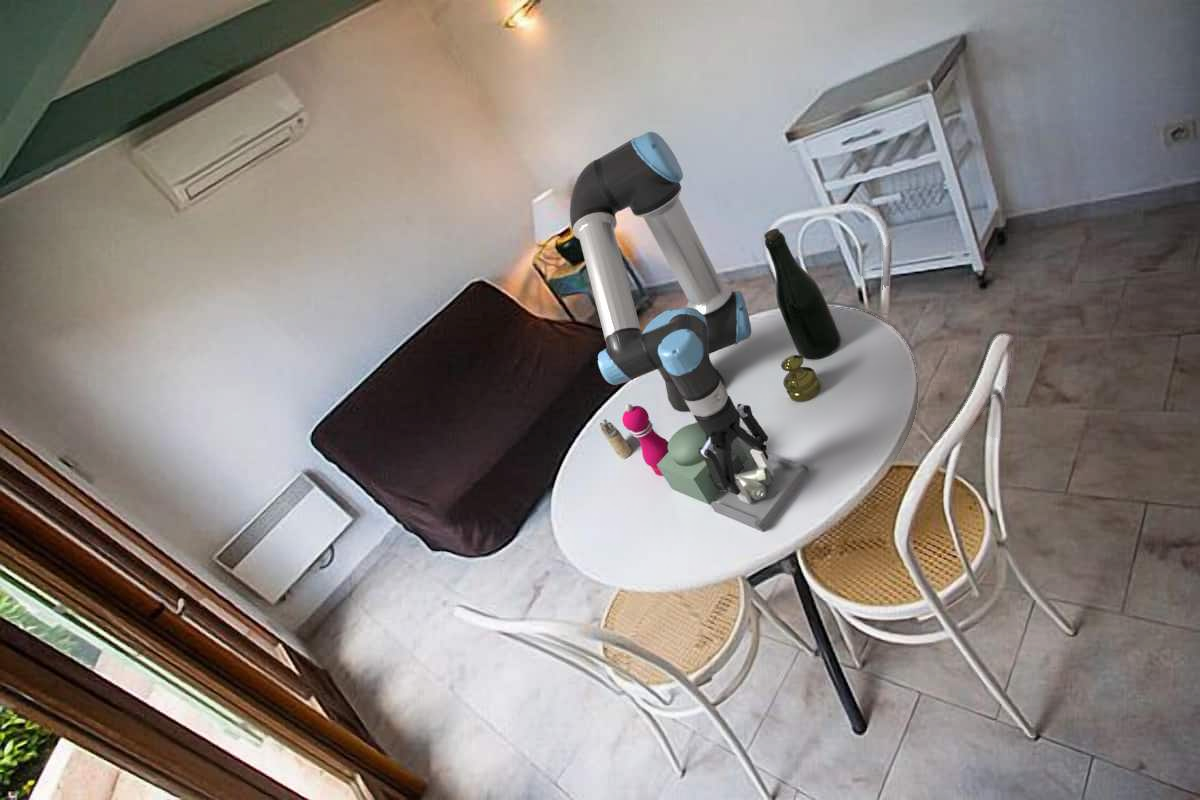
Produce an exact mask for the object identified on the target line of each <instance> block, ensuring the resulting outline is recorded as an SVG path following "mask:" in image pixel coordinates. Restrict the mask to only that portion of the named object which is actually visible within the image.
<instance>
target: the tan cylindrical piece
mask: <svg viewBox="0 0 1200 800" xmlns="http://www.w3.org/2000/svg"><path fill="white" fill-rule="evenodd" d="M599 426H600V430H601V432H602V434H603V435H604V437H605V439H606V440H607V441H608V443H609V444H610V446H611V447H612V449H613V450H614V451H615V453H616V454H617V455H618V456H619V457H620V459H626V457H627V458H628V457H630V456H631V455H632V453H633V449H632V448H631V445H629V444H628V442H627V441H626V440H625V438H624V437H623V434H621V432H620V431H619V429H618V428H617V427H616V426H615V425H614V424H613V423H612V422H610V421H608V420H607V419H606V418H604V419H603V423H602V422H600V423H599ZM631 452H632V453H631ZM630 454H631V455H630ZM629 455H630V456H629Z"/></svg>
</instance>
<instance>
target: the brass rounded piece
mask: <svg viewBox="0 0 1200 800" xmlns="http://www.w3.org/2000/svg"><path fill="white" fill-rule="evenodd" d="M803 363H804V358H803V357H802V356H800V355H799V354H794V355H790V356H788V357H786V358H785V359H784V360H783V361H782V362H781V364H780V365H781V366H780V367H781V369H782V370H783V371H785V372H788V373H787V374H786V375H785V376H784V378H783V380H782V381H783V387H784V388H785V390H786V393H787V394H788V396H789V398H790V400H792V401H794V402H796V403H799V402H800V403H801V402H802V403H803V402H807V401H809V400H810V401H811V399H814V398H815V397H816V396H817V395H819V393H820V391H821V389H822V385H821V383H820V380H819V378H818V376H817V373H816V371H815V370H814V369H813V368H812V367H808V366H802V365H803Z"/></svg>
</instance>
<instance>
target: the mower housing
mask: <svg viewBox="0 0 1200 800" xmlns="http://www.w3.org/2000/svg"><path fill="white" fill-rule="evenodd" d="M668 442H669V443H668V451H669V452H668V453H667V454H666V455H665V456H664V457H663V459H662V460H661V461H660V462H659V463H658V464H657V467H658V468H659V470H660V471H661V473H662V474H663V477H664V479H665V481H666V482H667V483H668V486H669V487H670V488H671V490H673V491H675V492H678V493H680V494H683V495H685V496H687V497H689V498H692V499H695V500H697V501H699V502H702V503H705V504H707V505H710V504H711V503H712V502H713V501H714V500H715V499H716V497H717V496H718V495H719V494H720V493H721V492H722V491H723V492H726V491H727V490H729V488H727V489H725V488H722V487H719V486H717V485H715V482H714V480H713V478H712V476H711V473H710V471H709V469H708V467H707V464H706V462H705V460H704V458H703V457H702V456H701V455H700V454H699V453H698V449H699V448H700V447H702V448H703V447H704V446H705V444H706V442H707V440H706V435H705V433H704V431H703V430H702V429H701V428H700V426H699V424H698V423H697V421H696V422H694V423H691V424H688V425H684V427H683V426H682V427H681V428H679V429H678V430H677V431H676V432H675V433H674V434H673V435H672V436H671V437H670V438H669V440H668ZM731 448H732V451H731V458H732V464H733V469H734V473H735V474H739V473H743V472H744V470H745V469H746V467H745V464H746V462H747V461H749V459H750V458H749V455H748V454H747V453H746V451H745V449H744V447H743V445H742V444H741V442H740V440H739V438H738V437H737V438H736V439H734V440H733V442H732V444H731ZM713 450H714V451H715V455H716V457H717V459H718V454H717V451H716V450H715V448H714V445H713ZM718 461H719V460H718ZM710 506H711V505H710Z"/></svg>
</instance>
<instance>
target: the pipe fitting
mask: <svg viewBox="0 0 1200 800" xmlns="http://www.w3.org/2000/svg"><path fill="white" fill-rule="evenodd" d="M734 475H735V478H737V479H739V480H740V482H741V483H742V485H743V487H744V488H745V490H746V492H747V494H748V495H749V496H750V497H752V498H754V499H755V500H759V499H761V498H762V497H764V496H765V495H766V494H765V493H766V488H765V486H767V485H769V484H770V482H771V480H770V475H769V473H768V471H767V469H766V467H759V468H758V469H756V470H752V471H748V472H745V471H742V472H741V473H739V474H735V473H734Z"/></svg>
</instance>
